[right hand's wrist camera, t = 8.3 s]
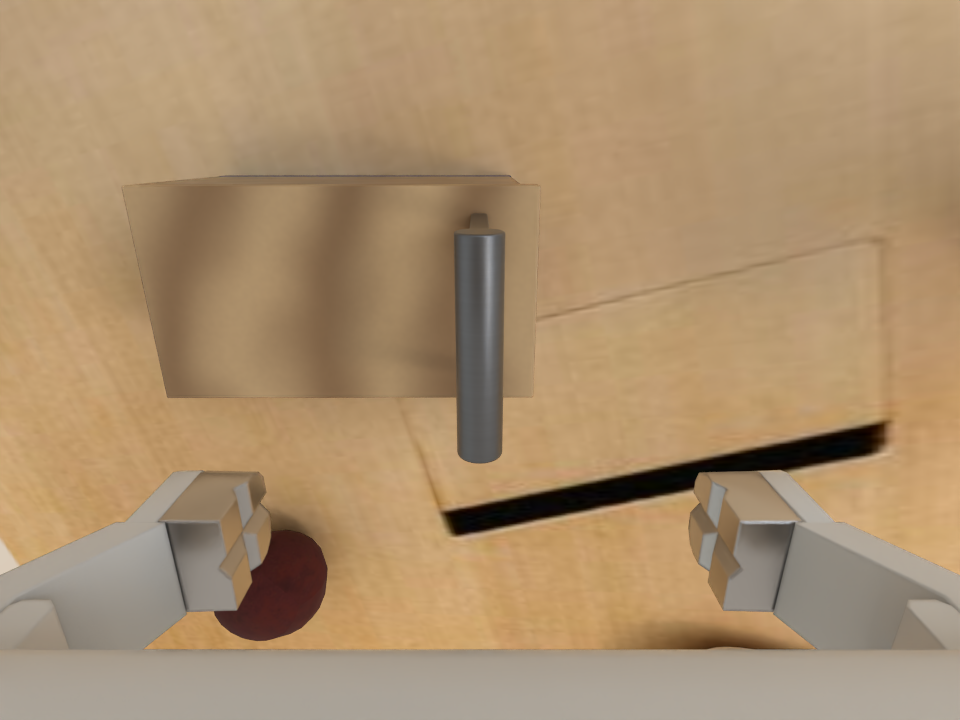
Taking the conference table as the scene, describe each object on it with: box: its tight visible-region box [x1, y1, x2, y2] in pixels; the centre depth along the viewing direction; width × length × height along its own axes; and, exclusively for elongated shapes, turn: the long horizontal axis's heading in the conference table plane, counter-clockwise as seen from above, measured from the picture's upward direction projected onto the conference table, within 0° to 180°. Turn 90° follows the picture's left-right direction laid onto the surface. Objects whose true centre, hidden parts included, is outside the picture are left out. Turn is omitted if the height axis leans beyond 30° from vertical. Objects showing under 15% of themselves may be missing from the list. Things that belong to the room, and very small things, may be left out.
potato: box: [214, 530, 327, 641], centre depth 39 cm, size 7×8×7 cm
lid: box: [122, 184, 541, 463], centre depth 22 cm, size 18×10×9 cm, turn 90°
